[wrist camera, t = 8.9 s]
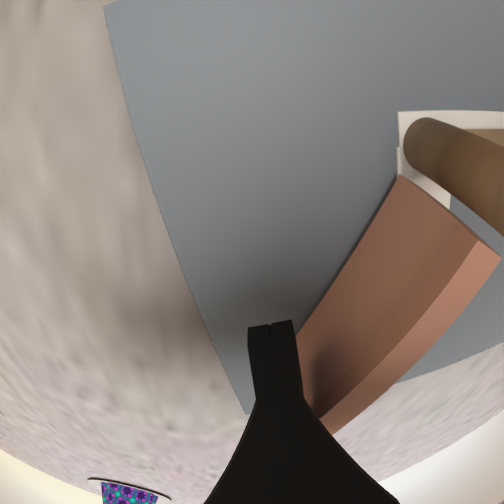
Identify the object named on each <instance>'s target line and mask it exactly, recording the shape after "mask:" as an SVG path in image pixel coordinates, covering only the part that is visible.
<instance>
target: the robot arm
mask: <svg viewBox="0 0 504 504" xmlns="http://www.w3.org/2000/svg"><path fill="white" fill-rule="evenodd" d="M247 348H248V354H249V360H250V367H251V373H252V379H253V385H254V391H255V397H256V400H255V403H254V406H253V409H252V412H251V415H250V418H249V420H248V423H247V425H246V428H245V430H244V432H243V435H242V437H241V439H240V442H239V444H238V446H237V448H236V450H235V452H234V454H233V456H232V458H231V460H230V462H229V464H228V466H227V467H226V469H225V471H224V473H223V474H222V476H221V477H220V479H219V481H218V482H217V484H216V486H215V487H214V489H213V490H212V492H211V494H210V495H209V497H208V498H207V500H206V501H205V502H204V504H400V503H399V502H398V500H397V499H396V498H395V497H394V496H393V495H391V494H390V493H389V492H388V491H386V490H385V489H384V488H383V487H382V486H381V485H379V484H378V483H377V482H376V481H375V480H374V479H373V478H372V477H371V476H370V475H368V474H367V473H366V472H365V471H364V470H363V469H362V468H361V467H360V466H359V465H358V464H357V463H356V462H355V461H354V460H353V459H352V457H351V456H350V455H349V454H348V453H347V452H346V451H345V450H344V449H343V448H342V447H341V446H340V444H339V443H338V442H337V441H336V440H335V439H334V438H333V436H332V435H331V434H330V433H329V431H328V430H327V429H326V428H325V426H324V425H323V424H322V422H321V421H320V420H319V418H318V417H317V416H316V414H315V413H314V412H313V410H312V409H311V407H310V406H309V404H308V403H307V402H306V400H305V398H304V392H303V383H302V376H301V369H300V362H299V355H298V349H297V342H296V336H295V332H294V328H293V323H292V319H290V320H285V321H280V322H275V323H272V324H271V325H268V324H264V325H259V326H253V327H248V334H247ZM499 504H504V501H502V502H501V503H499Z"/></svg>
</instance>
